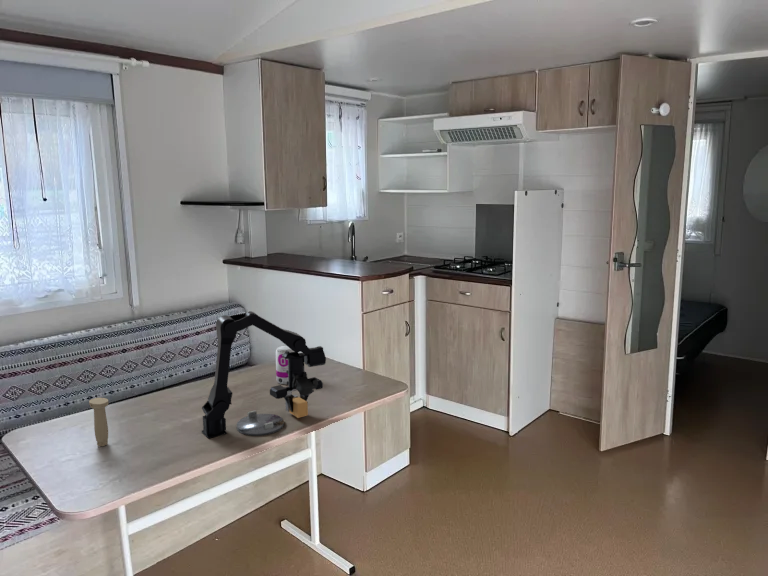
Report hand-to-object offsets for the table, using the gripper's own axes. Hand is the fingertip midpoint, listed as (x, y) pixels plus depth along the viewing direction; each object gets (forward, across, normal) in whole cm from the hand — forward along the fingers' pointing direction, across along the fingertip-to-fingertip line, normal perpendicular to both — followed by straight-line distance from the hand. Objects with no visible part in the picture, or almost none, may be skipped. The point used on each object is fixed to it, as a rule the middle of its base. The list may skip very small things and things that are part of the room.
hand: (297, 410), depth 212 cm
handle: (+3, -61, +18) cm, 64 cm away
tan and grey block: (+1, 0, 0) cm, 1 cm away
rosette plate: (+3, -14, +1) cm, 14 cm away
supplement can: (+3, +15, +36) cm, 39 cm away
